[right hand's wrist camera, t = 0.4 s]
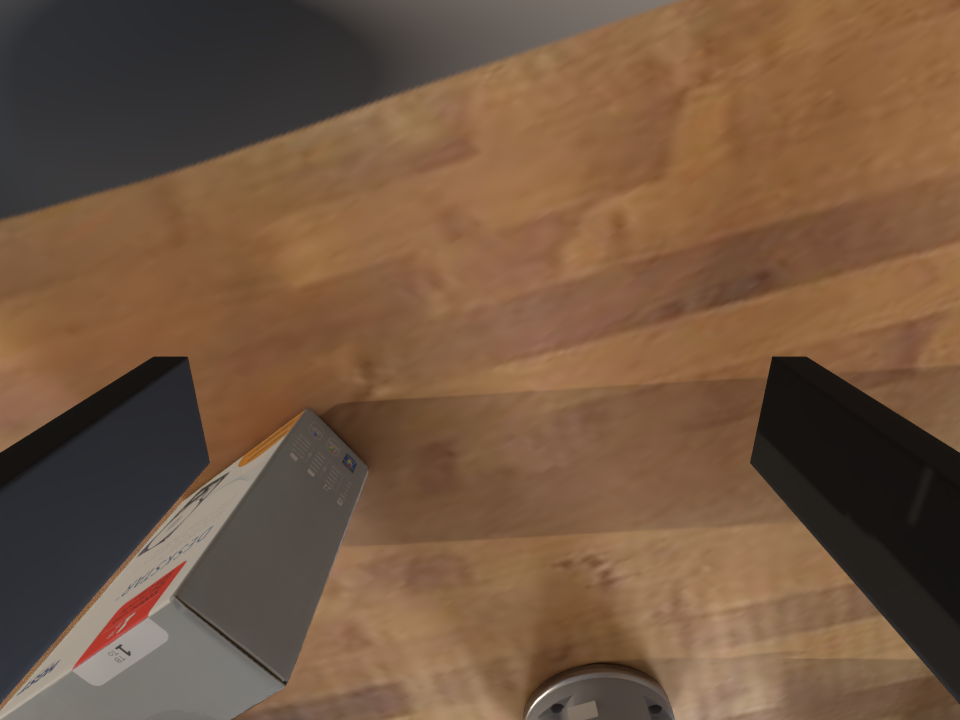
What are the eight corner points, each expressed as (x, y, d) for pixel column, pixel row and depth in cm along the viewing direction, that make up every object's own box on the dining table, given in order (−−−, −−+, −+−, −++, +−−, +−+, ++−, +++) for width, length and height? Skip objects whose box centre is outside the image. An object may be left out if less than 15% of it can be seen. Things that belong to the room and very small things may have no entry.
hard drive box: (309, 402, 43) (178, 594, 24) (372, 467, 45) (297, 689, 27) (178, 501, 46) (-24, 736, 28) (243, 558, 49) (96, 810, 30)
